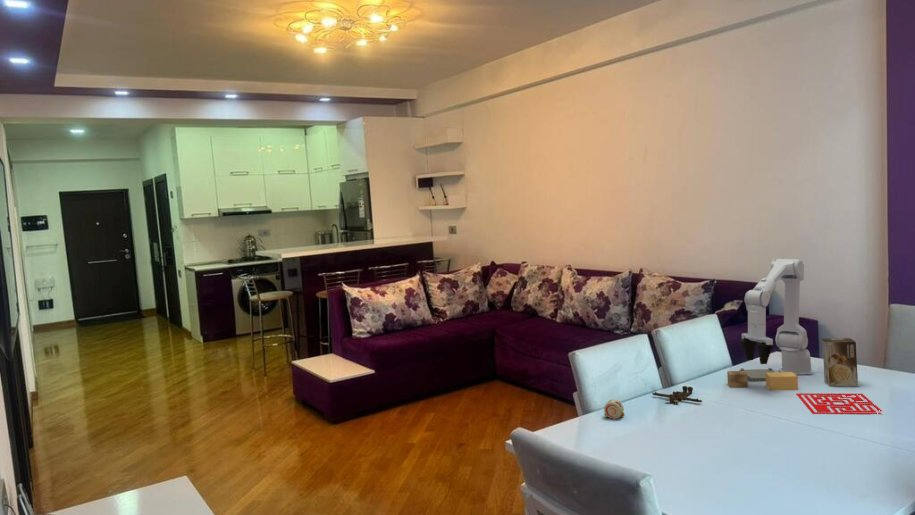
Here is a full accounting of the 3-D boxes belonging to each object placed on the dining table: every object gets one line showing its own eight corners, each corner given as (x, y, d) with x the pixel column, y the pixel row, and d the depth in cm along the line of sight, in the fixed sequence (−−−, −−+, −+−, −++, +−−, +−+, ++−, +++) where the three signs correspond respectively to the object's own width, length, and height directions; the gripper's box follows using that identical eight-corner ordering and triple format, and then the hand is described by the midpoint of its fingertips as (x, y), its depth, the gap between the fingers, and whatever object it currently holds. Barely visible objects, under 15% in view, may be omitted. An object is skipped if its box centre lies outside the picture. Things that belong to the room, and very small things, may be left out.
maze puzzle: (885, 416, 188) (885, 413, 188) (812, 415, 193) (812, 413, 193) (862, 395, 207) (862, 393, 207) (796, 395, 212) (796, 393, 212)
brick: (792, 385, 222) (792, 372, 221) (798, 390, 217) (797, 376, 216) (765, 386, 224) (765, 372, 223) (770, 390, 218) (769, 377, 218)
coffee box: (852, 381, 220) (851, 337, 219) (858, 387, 214) (857, 341, 213) (823, 381, 223) (822, 338, 222) (828, 386, 217) (827, 342, 216)
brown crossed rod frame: (713, 389, 216) (696, 396, 206) (713, 401, 217) (696, 409, 206) (664, 382, 229) (646, 388, 218) (664, 393, 229) (646, 400, 218)
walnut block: (745, 384, 228) (744, 370, 227) (748, 387, 223) (747, 374, 223) (727, 384, 229) (727, 371, 229) (730, 388, 225) (729, 374, 224)
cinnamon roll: (606, 414, 208) (605, 397, 207) (625, 415, 205) (624, 398, 204) (603, 418, 204) (602, 401, 203) (622, 420, 201) (621, 403, 201)
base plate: (772, 372, 239) (772, 367, 239) (781, 380, 227) (781, 376, 227) (739, 372, 242) (738, 368, 242) (746, 381, 230) (746, 376, 230)
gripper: (734, 321, 226) (734, 358, 226) (759, 326, 211) (759, 366, 212) (751, 321, 227) (751, 357, 227) (778, 326, 212) (778, 365, 213)
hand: (756, 361), depth 219 cm, fingers open, 7 cm apart
